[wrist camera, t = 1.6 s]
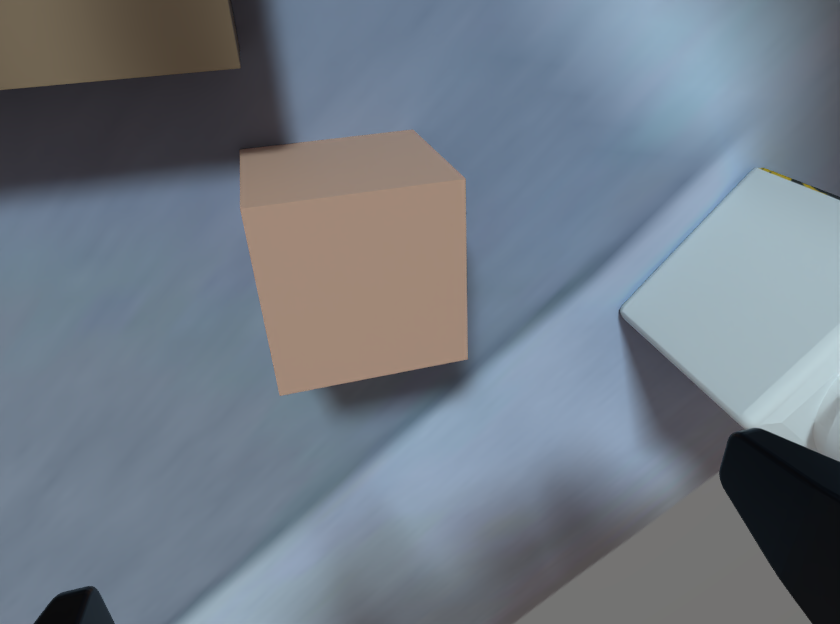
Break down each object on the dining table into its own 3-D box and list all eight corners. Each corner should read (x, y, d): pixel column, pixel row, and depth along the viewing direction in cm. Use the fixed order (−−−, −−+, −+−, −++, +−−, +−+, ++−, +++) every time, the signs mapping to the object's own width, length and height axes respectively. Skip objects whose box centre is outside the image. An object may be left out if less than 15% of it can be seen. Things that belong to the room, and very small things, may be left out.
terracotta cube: (412, 128, 18) (465, 178, 14) (420, 278, 20) (467, 359, 16) (239, 148, 17) (240, 208, 13) (270, 303, 20) (279, 395, 15)
